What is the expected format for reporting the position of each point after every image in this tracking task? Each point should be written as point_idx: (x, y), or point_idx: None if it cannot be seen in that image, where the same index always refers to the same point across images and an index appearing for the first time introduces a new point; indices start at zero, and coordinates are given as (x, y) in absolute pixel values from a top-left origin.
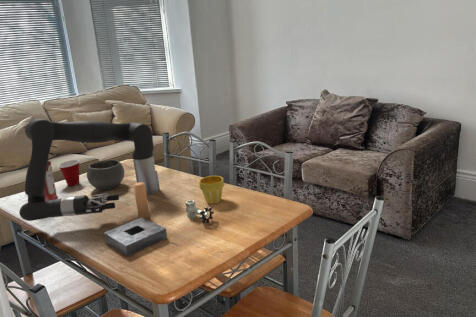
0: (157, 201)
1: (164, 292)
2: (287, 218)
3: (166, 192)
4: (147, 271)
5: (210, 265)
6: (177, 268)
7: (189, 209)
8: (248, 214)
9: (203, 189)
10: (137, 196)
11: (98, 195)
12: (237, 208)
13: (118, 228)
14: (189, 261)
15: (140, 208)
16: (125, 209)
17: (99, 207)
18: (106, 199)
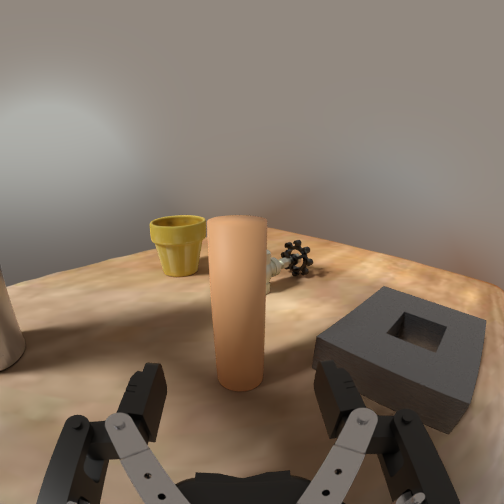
0: (93, 345)
1: (497, 288)
2: (290, 234)
3: (47, 324)
4: (485, 309)
5: (430, 268)
6: (456, 287)
7: (271, 268)
8: (269, 249)
9: (194, 239)
10: (263, 279)
11: (69, 493)
12: None
13: (425, 374)
14: (434, 281)
15: (264, 332)
16: None
17: (415, 419)
18: (105, 463)
